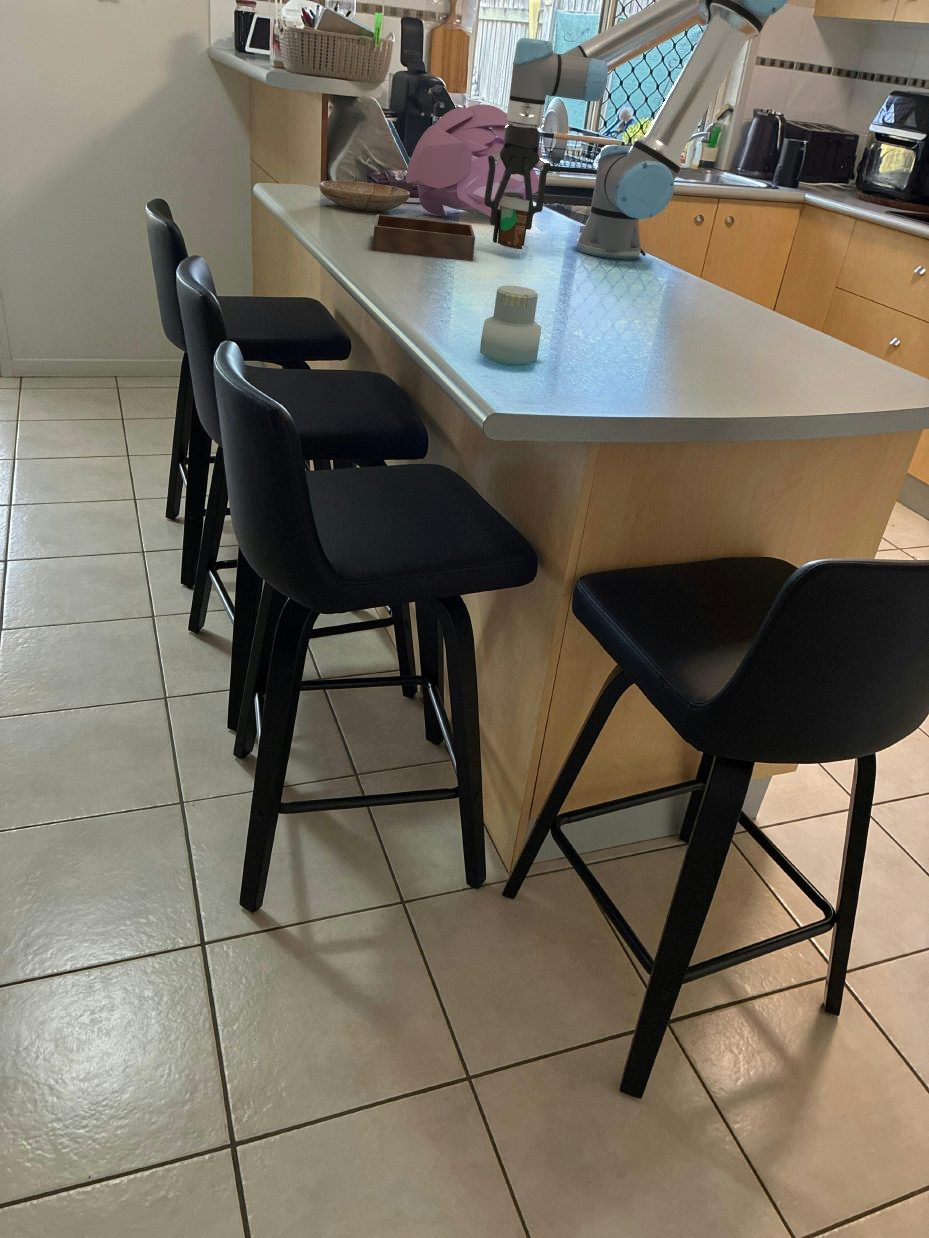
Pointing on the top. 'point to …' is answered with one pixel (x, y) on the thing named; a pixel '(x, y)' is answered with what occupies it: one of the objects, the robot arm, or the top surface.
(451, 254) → the wooden tray
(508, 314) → the air freshener
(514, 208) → the food container
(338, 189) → the wooden bowl
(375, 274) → the top surface
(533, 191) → the flower arrangement
